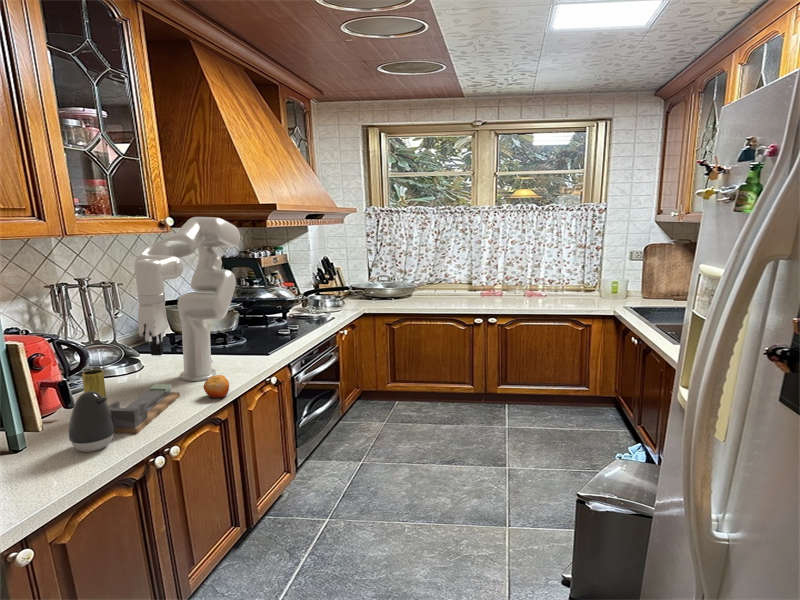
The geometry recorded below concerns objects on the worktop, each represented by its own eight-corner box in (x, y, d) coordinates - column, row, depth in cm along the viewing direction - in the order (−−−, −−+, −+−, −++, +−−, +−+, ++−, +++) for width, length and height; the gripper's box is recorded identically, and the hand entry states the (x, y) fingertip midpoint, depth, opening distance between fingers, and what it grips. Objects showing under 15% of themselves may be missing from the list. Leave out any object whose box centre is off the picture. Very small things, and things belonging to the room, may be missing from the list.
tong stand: (149, 396, 162) (148, 377, 161) (179, 396, 162) (178, 378, 161) (100, 433, 135) (98, 411, 134) (137, 433, 135) (135, 411, 134)
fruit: (234, 386, 169) (230, 371, 164) (228, 404, 163) (224, 389, 158) (210, 385, 169) (205, 370, 164) (204, 404, 163) (198, 389, 158)
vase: (81, 423, 141) (77, 375, 138) (88, 414, 146) (84, 369, 144) (105, 421, 142) (101, 374, 140) (111, 412, 148) (107, 367, 146)
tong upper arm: (154, 388, 161) (154, 384, 161) (172, 389, 161) (172, 384, 161) (115, 417, 138) (115, 412, 138) (136, 417, 139) (136, 412, 138)
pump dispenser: (93, 459, 121) (87, 401, 118) (60, 453, 123) (54, 396, 121) (126, 441, 130) (122, 387, 128) (95, 436, 133) (90, 382, 130)
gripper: (150, 293, 159) (156, 346, 163) (126, 304, 144) (133, 362, 149) (174, 293, 159) (179, 347, 163) (152, 305, 145) (158, 363, 149)
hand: (157, 354), depth 156 cm, fingers closed
